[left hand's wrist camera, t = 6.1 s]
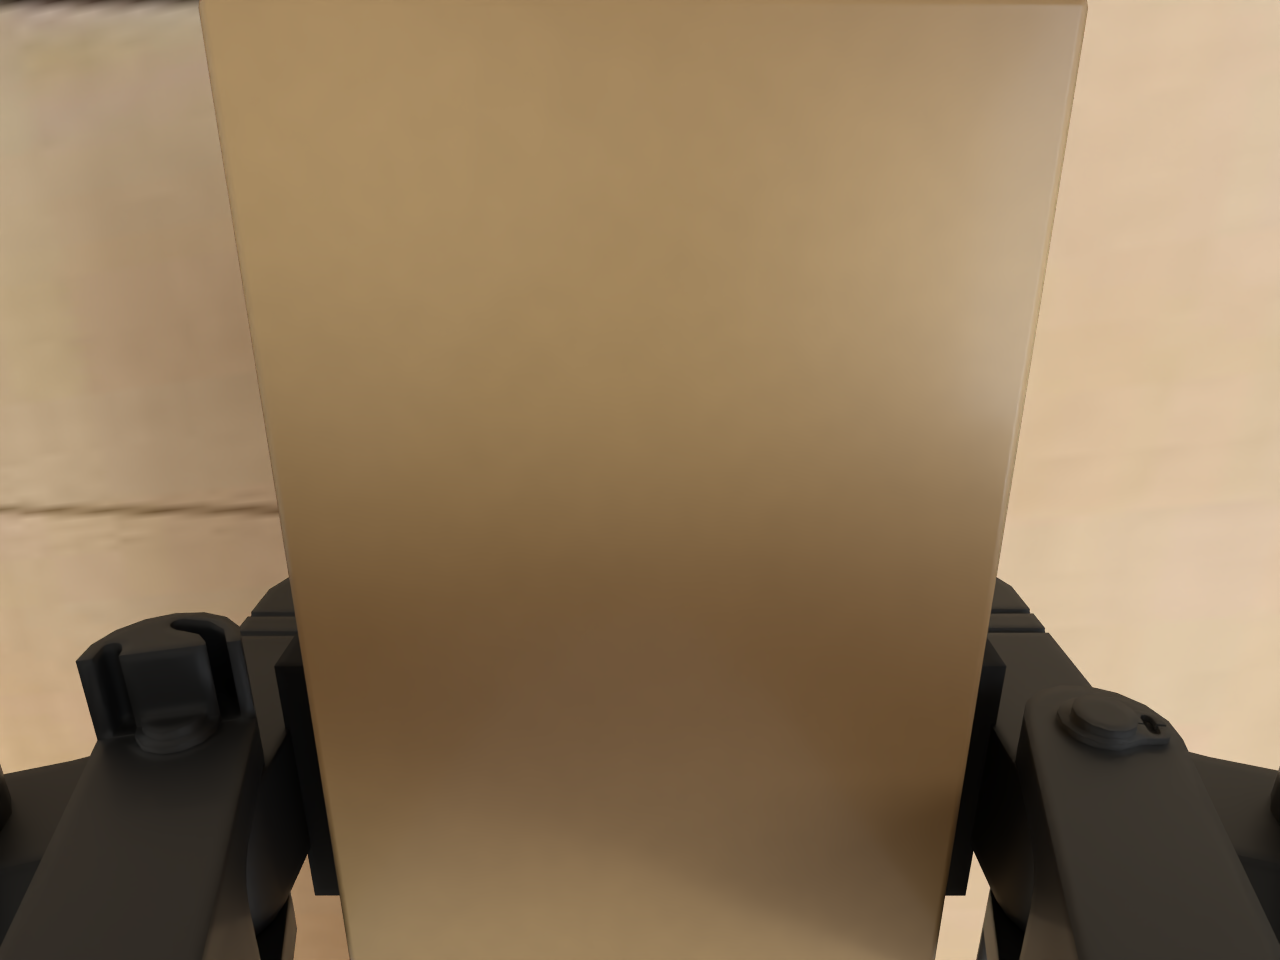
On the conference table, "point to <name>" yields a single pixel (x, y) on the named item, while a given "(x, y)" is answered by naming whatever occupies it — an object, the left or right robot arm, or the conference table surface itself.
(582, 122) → the post
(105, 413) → the conference table surface
